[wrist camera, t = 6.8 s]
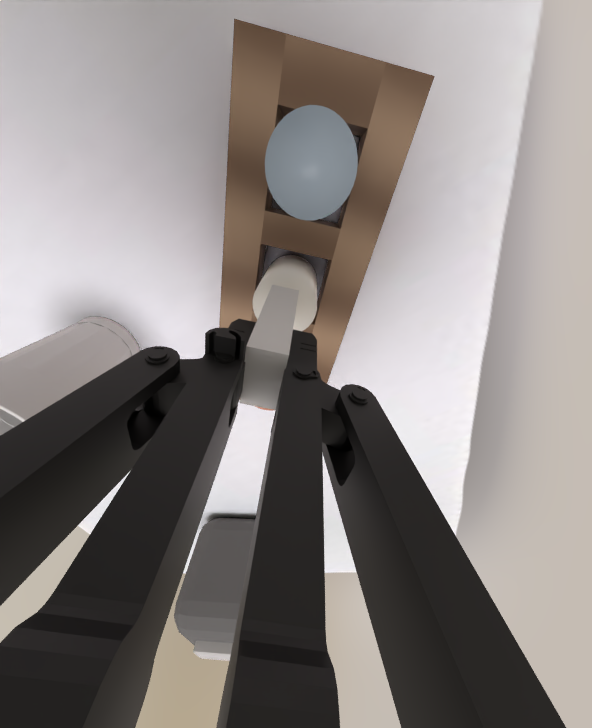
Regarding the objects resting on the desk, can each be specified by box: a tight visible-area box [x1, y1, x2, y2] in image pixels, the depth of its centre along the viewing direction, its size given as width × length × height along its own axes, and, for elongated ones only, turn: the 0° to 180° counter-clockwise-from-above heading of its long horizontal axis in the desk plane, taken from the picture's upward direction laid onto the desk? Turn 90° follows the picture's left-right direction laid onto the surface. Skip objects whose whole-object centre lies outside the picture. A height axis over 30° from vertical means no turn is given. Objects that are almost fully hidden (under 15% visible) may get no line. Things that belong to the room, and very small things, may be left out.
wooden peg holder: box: [219, 19, 434, 400], centre depth 21 cm, size 24×10×3 cm, turn 168°
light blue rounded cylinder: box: [265, 105, 358, 221], centre depth 14 cm, size 4×4×5 cm
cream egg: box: [253, 255, 317, 331], centre depth 19 cm, size 4×4×5 cm
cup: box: [0, 316, 140, 436], centre depth 22 cm, size 8×8×12 cm
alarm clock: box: [174, 518, 255, 661], centre depth 41 cm, size 16×11×16 cm
